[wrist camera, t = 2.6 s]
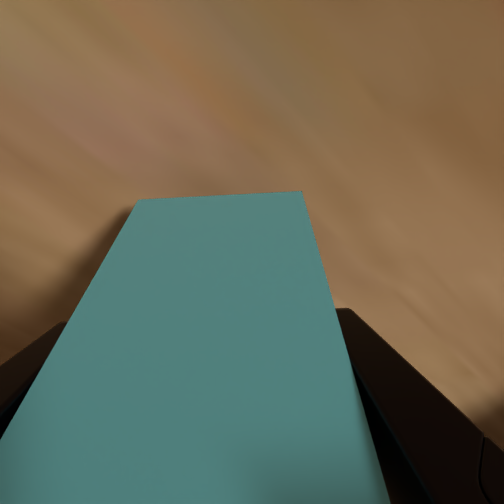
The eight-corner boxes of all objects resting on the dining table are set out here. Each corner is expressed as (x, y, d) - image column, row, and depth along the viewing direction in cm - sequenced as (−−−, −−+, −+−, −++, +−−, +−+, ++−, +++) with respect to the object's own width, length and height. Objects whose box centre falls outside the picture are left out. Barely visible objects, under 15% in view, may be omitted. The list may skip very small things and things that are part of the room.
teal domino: (301, 191, 12) (427, 631, 4) (300, 237, 13) (400, 681, 4) (138, 199, 12) (-119, 645, 4) (148, 244, 13) (-42, 692, 5)
